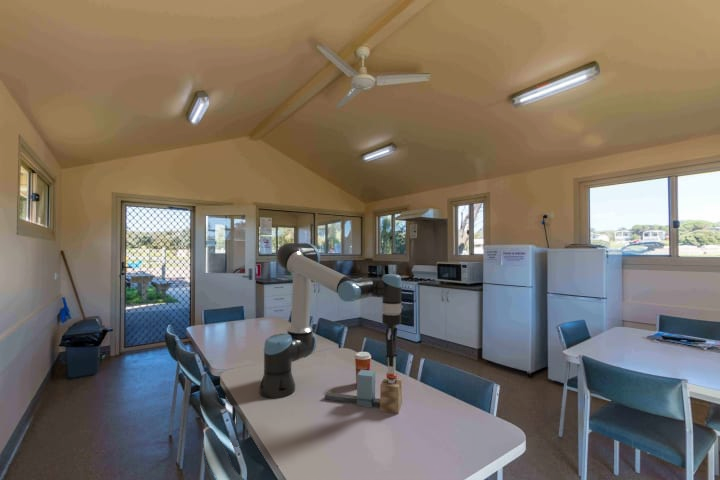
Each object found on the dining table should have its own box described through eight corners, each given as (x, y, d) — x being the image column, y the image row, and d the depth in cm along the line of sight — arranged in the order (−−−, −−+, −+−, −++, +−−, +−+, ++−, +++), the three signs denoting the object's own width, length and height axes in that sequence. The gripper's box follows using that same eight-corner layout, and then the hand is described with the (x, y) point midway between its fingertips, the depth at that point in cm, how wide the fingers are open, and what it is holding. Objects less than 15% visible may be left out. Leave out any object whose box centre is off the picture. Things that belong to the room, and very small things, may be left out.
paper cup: (351, 386, 153) (351, 355, 153) (359, 380, 160) (359, 350, 160) (366, 389, 149) (366, 357, 150) (374, 383, 156) (374, 353, 156)
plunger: (385, 391, 132) (385, 375, 132) (387, 387, 135) (387, 371, 136) (395, 392, 130) (395, 376, 131) (397, 388, 134) (397, 372, 134)
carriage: (356, 405, 133) (357, 374, 134) (360, 398, 139) (361, 369, 140) (371, 407, 132) (371, 376, 132) (375, 400, 138) (375, 371, 138)
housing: (380, 411, 129) (380, 384, 130) (384, 401, 138) (385, 376, 138) (398, 413, 127) (398, 387, 128) (401, 403, 136) (401, 378, 136)
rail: (324, 399, 139) (324, 395, 139) (327, 396, 142) (327, 392, 142) (381, 407, 132) (381, 402, 132) (383, 404, 135) (383, 399, 135)
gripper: (398, 317, 126) (398, 380, 126) (403, 311, 139) (403, 368, 138) (379, 316, 128) (378, 378, 128) (385, 310, 141) (385, 367, 140)
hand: (391, 373), depth 133 cm, fingers closed
